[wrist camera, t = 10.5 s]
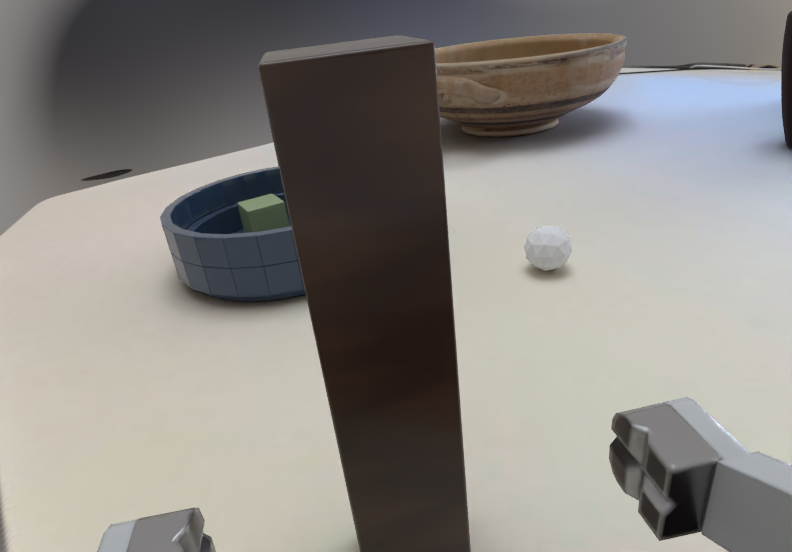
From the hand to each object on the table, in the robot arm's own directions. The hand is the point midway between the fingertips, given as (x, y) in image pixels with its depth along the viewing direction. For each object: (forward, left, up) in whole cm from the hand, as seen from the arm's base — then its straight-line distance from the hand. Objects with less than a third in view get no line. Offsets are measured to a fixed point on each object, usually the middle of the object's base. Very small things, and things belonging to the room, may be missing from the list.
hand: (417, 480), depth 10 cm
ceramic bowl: (+26, +64, -9) cm, 69 cm away
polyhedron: (+13, +22, -9) cm, 27 cm away
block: (-5, +35, -8) cm, 36 cm away
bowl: (-4, +32, -8) cm, 34 cm away
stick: (0, +4, -8) cm, 9 cm away
